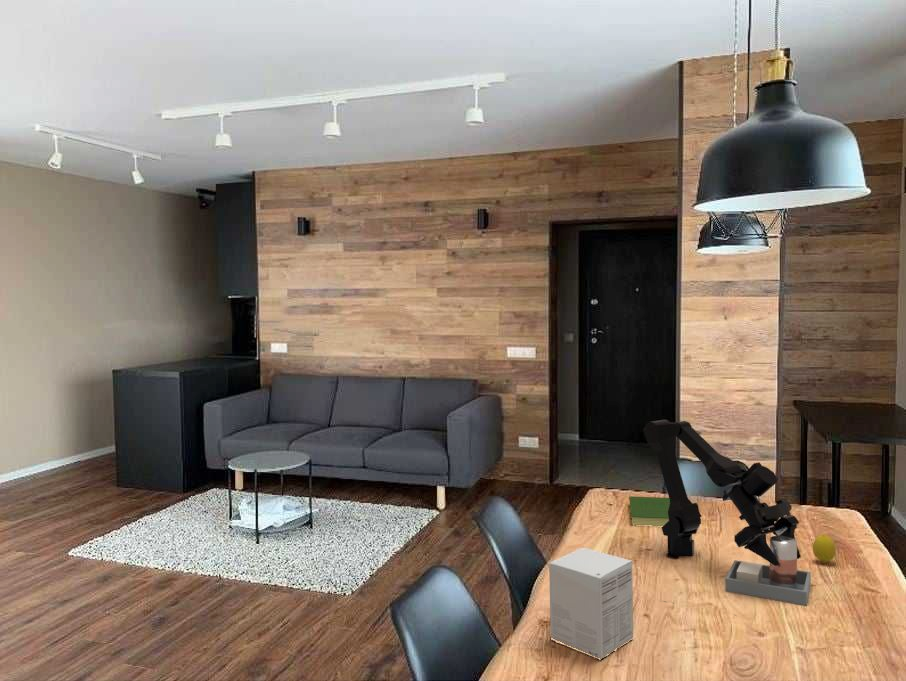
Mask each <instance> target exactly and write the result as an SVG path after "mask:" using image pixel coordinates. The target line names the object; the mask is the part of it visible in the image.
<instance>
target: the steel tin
mask: <svg viewBox="0 0 906 681" xmlns="http://www.w3.org/2000/svg"><path fill="white" fill-rule="evenodd" d="M797 546H798V540H797V539H796V538H795V539H793V538H791V537H786V536H776V535H772V536H770V537H769V547H770V549H771V550H772V552H773V554H774V555H775V557H776V559H777V560H778V562H779V565H777V566H775V565H773V564H772V563H770V562H769V578H770V585H773V586H779V587H785V588H791V589H796V585H797V570H798V559H797Z"/></svg>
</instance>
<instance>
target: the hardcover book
mask: <svg viewBox="0 0 906 681" xmlns="http://www.w3.org/2000/svg"><path fill="white" fill-rule="evenodd" d="M628 498H629V499H628V500H629V509H630V510H631V511H630V510H629V511H630V518H632V520H631V525H632V524H634V525H652V526H664V525H665V524H666V523H667V522H668V521H669V516H668V510H669V505H670V499H669V497H661V496H660V497H657V496H654V497H653V496H630V495H629V496H628Z"/></svg>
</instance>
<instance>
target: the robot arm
mask: <svg viewBox="0 0 906 681" xmlns="http://www.w3.org/2000/svg"><path fill="white" fill-rule="evenodd" d="M643 434H644V437H645V439H646V442H647V444H648V446H650V448H652V450H653V451H654V452H655V453H656V457H657V459H658V463H659V466H660V471H661V474H662V477H663V481H664V485H665V487H666V492H667V496H668V498H669V499H670V505H669V510H668V516H669V521H668V522H667V523H666V524H665V525H664V526H663V527H661V531H662V534H663V535H664V536H666V537H667V553H666V554H665V557H666V558H670V559H679V558H680V557H682V558H683V557H689V558H690V557H693V556H694V555H695V540H694V539H693V535H696V534H697V533H698V532H697V531H698V529H699V528H700V525H701V524H702V519H701V518H702V517H703V516H702V514H701V513H700V509H699V504H698V503H697V502H692V501H691V500H690V499H689V497H688V495H687V491H686V487H685V485H684V481H683V478H682V474H681V470H680V467H679V464H678V461H677V457H676V454H675V450H674V447H675V444H676V438H678V440H680V442H681V443H683V445H684V446H685V447H686V448H687V449H689V451H690V452H691V453H692V454H693V455H694V456H695V457H696V458H697V459H698V460H699V461H700V462H701V463H702V464H703V466H704V467H705V472H706V474H707V476H708V477H709V479H710V480H711V482H713V483H714V485H715V486H717V487H719V488H725V487H728V486H729V487H730V486H732V485H733V486H732V487H731V488H729V489H728V488H727V489H723V495H722V501H723V502H725V501H726V502H727V501H730V500H731V502H732V503H733V505H734V506H735V508H736V509H737V511H738V512H739V513H740V515H739V516H738V518H739V519H740V521H745V522H746V523H747V525H748V526H744V527H743V528H742V529H741V530H739V531H738V532H737V533H736V534H735V535H734V539H733V540H734V542H735V544H736V546H737V548H742V547H743V548H744V549H745V550H748V551H750V552H753V553H754V554H756V555H757V556H759V557H761V558H762V559H764V560H766V561H767V562H769V564H770V563H772V564H773V565H775V566H777V565H779V562H778V560H777V559H776V557H775V555H774V554H773V552H772V550H771V549H770V545H769V544H768V542H767V535H769V534H773V536H786V537H791V538H793V539H795V540H796V538H795V531H796V529H797V528H798V526H797V525H799V524H800V521H799V520H798V518H797V517H796V516H795V515H792V514H791V512H790V511H792V508H793V507H792V504H791V503H790V502H789V501H788V500H787V499H786V498H780V499H777V500H776V501H775V504H773V505H769V504H768V503H767V502H764V501H763V502H761V501H760V500H759V497H763V495H765V494H766V493H767V492H769V490H771V488H773V487H774V486H775V485H776V484H777V483H778V477H777V475H776V473H775V472H774V471H772V470H771V469H770V468H768V467H767V466H764V465H762V464H761V462H754V463H753V464H752V465H751V466H750V467H749V468H748V469H744V468H742V467H741V466H740V465H739V464H738V463H737V462H735V461H734V460H733V459H731V458H730V457H727V456H725V455H722V454H721V453H719V452H718V451H717V450H716V449H715V448H714V447H713V446H711V445H710V443H708V442H707V441H706V440H705V439H704V438H703V437H702V436H701V435H700V434H699V432H697V431H696V430H695V429H694V427H692V425H691V423H690V422H689V421H686V420H683V421H682V420H681V421H675V422H671V421H669V420H668V419H661V420H655V421H653V420H652V421H648V422H647V423H646V424H645V426H644V428H643ZM798 547H799V546H798V545H797V560H798V559H800V558H802V557H801V553H800V550H799V548H798Z"/></svg>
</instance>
